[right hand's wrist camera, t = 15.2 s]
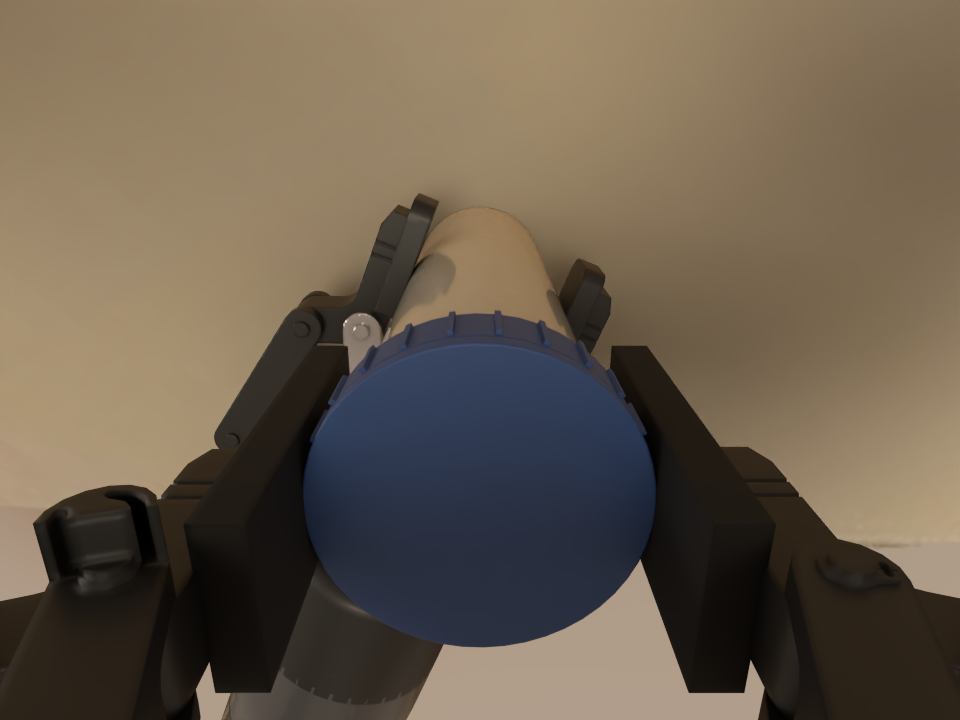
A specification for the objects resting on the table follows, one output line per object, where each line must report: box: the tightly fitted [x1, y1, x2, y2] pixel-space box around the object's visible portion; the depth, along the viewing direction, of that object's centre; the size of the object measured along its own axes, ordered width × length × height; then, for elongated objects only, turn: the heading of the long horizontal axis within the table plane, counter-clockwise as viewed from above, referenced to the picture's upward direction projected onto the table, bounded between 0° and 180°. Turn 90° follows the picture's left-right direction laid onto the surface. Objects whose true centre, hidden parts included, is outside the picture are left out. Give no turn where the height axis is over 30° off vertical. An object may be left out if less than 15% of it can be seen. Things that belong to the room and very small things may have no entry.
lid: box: [303, 310, 657, 647], centre depth 11 cm, size 6×6×2 cm
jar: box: [382, 207, 577, 343], centre depth 19 cm, size 5×5×18 cm
